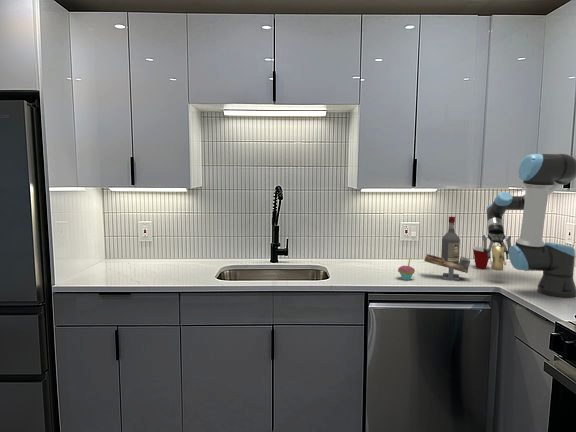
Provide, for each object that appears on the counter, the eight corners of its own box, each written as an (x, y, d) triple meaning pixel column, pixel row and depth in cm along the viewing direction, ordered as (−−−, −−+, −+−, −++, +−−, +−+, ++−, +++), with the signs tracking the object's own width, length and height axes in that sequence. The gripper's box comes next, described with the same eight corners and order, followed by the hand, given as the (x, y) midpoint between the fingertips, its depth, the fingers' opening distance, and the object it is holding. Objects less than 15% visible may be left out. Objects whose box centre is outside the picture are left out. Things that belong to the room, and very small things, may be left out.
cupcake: (417, 278, 205) (417, 256, 203) (409, 281, 199) (410, 259, 197) (402, 276, 211) (403, 254, 209) (394, 278, 205) (395, 256, 203)
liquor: (438, 263, 242) (440, 216, 239) (450, 262, 245) (452, 215, 242) (449, 266, 234) (451, 217, 231) (461, 265, 237) (463, 217, 234)
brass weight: (504, 269, 197) (506, 246, 196) (500, 271, 194) (501, 247, 193) (493, 267, 202) (494, 245, 201) (489, 269, 198) (490, 246, 197)
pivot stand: (458, 276, 210) (459, 262, 209) (459, 281, 200) (459, 267, 199) (442, 274, 213) (443, 261, 212) (442, 279, 203) (443, 265, 202)
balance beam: (466, 269, 207) (469, 258, 206) (467, 273, 199) (470, 261, 198) (425, 258, 215) (427, 247, 214) (424, 261, 207) (427, 250, 206)
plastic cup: (484, 270, 222) (485, 250, 221) (467, 267, 231) (468, 247, 230) (495, 268, 228) (496, 248, 227) (478, 265, 237) (478, 246, 236)
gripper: (514, 233, 207) (518, 269, 193) (476, 231, 214) (477, 266, 200) (516, 224, 202) (520, 260, 188) (477, 223, 209) (478, 257, 195)
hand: (498, 263), depth 194 cm, fingers closed on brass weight, 5 cm apart
